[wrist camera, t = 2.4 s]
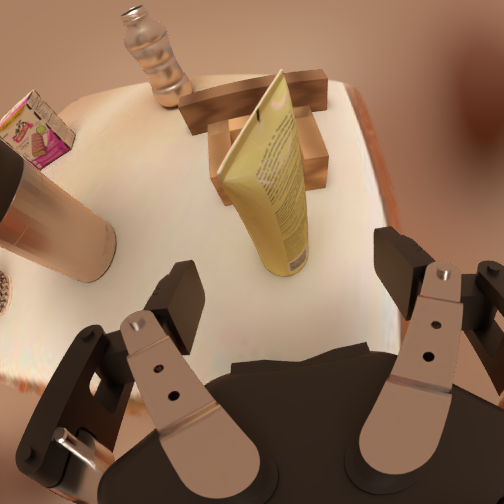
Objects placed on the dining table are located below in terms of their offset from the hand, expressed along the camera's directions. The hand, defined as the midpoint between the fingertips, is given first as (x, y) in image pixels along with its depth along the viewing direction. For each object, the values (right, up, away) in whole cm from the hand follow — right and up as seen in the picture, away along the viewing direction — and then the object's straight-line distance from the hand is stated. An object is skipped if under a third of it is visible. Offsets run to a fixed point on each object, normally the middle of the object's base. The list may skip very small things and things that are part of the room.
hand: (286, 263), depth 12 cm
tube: (+2, 0, +17) cm, 18 cm away
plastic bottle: (-14, +27, +29) cm, 43 cm away
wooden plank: (-1, +20, +24) cm, 32 cm away
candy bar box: (-44, +22, +33) cm, 59 cm away
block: (+1, +11, +21) cm, 24 cm away
